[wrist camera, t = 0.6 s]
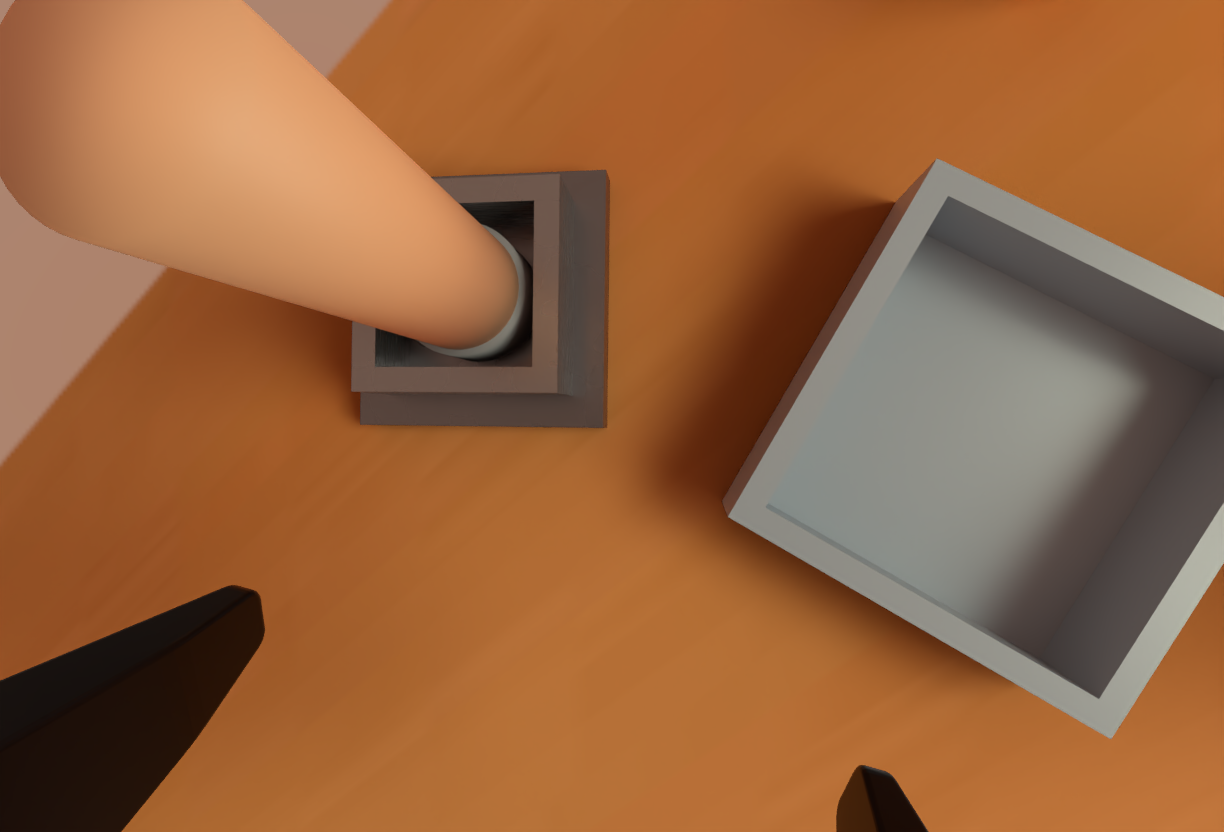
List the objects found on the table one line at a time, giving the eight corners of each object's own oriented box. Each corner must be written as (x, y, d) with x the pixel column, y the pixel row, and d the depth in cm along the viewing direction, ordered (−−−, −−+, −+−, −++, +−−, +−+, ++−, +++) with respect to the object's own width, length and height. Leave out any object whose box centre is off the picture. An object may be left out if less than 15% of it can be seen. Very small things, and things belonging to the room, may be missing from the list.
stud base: (606, 427, 22) (591, 428, 19) (373, 424, 23) (319, 424, 20) (609, 181, 22) (595, 136, 19) (377, 189, 23) (323, 149, 20)
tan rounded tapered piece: (539, 361, 22) (267, 255, 8) (420, 361, 22) (-34, 262, 8) (540, 237, 22) (272, -93, 8) (422, 240, 22) (-28, -63, 8)
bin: (1039, 684, 20) (1111, 739, 17) (721, 501, 22) (727, 516, 18) (1236, 370, 20) (1353, 359, 16) (895, 201, 21) (937, 158, 18)
